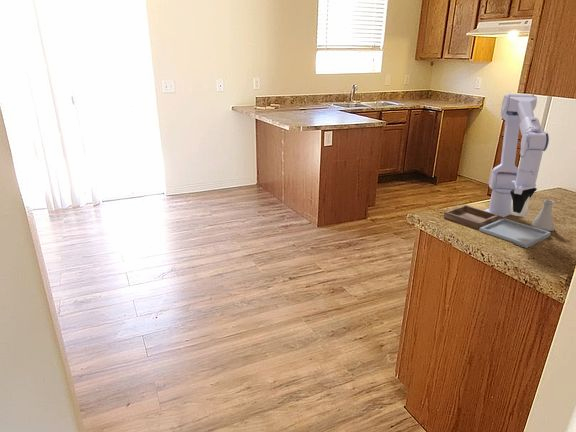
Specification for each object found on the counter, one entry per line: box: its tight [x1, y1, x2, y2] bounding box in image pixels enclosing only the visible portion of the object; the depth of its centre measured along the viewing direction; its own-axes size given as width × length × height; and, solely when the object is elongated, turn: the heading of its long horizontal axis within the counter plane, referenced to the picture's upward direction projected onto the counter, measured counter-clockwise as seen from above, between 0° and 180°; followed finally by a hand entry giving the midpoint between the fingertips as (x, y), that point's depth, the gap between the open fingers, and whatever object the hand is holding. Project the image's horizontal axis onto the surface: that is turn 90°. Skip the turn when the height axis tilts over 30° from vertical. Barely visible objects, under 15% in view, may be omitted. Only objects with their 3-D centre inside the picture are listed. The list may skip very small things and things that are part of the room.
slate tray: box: [478, 217, 552, 249], centre depth 140 cm, size 16×16×2 cm
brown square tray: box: [443, 204, 500, 230], centre depth 152 cm, size 14×14×2 cm
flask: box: [531, 199, 555, 232], centre depth 144 cm, size 7×7×10 cm
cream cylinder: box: [510, 197, 531, 217], centre depth 137 cm, size 5×5×6 cm
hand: (519, 210), depth 137 cm, fingers closed on cream cylinder, 5 cm apart
